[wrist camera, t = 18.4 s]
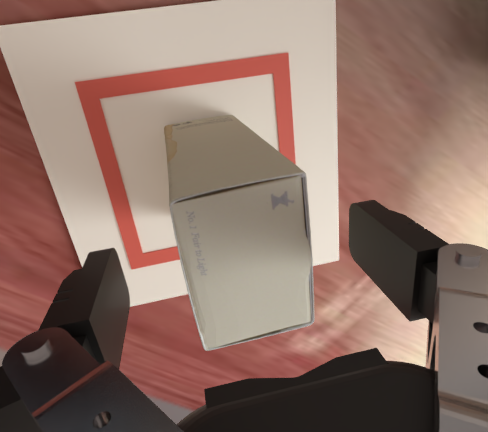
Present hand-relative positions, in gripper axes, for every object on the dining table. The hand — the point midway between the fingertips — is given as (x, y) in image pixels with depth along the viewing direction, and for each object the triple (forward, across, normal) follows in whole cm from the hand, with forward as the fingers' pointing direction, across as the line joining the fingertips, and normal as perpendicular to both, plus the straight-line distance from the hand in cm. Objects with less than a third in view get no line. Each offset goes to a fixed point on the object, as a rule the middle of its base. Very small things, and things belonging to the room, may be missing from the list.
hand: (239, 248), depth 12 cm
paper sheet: (+12, 0, 0) cm, 12 cm away
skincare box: (+12, 0, 0) cm, 12 cm away
